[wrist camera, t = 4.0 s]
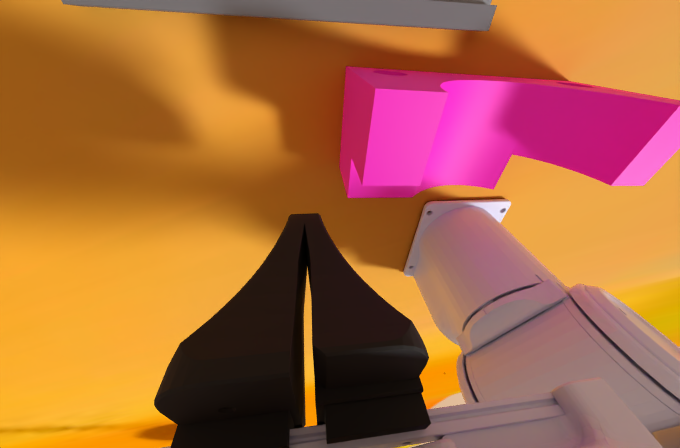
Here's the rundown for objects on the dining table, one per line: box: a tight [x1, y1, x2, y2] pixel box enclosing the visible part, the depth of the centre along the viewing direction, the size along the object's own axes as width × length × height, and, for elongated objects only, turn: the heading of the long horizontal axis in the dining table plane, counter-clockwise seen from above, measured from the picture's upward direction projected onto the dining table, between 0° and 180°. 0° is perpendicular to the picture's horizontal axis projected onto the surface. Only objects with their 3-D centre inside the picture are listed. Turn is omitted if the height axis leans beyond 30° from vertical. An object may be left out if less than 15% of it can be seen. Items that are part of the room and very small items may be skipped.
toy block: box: [339, 66, 680, 198], centre depth 14 cm, size 15×6×8 cm, turn 86°
